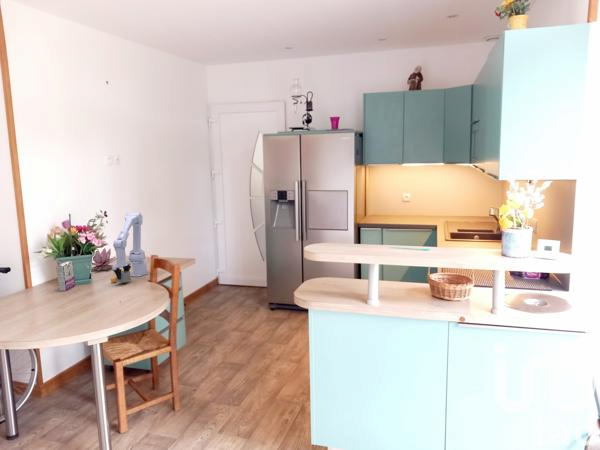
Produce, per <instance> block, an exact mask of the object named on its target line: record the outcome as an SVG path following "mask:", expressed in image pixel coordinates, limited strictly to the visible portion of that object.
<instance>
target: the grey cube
mask: <svg viewBox="0 0 600 450" xmlns="http://www.w3.org/2000/svg"><path fill="white" fill-rule="evenodd" d="M130 275H131V271H130V270H129V271H124V270H122V271H121V279H120V280H119V279H117V281H116V283H123V284H124V283H126V282H130V281H131V278H132V277H131V276H130ZM115 277H116V278H117V276H115Z"/></svg>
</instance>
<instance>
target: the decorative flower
mask: <svg viewBox="0 0 600 450" xmlns="http://www.w3.org/2000/svg"><path fill="white" fill-rule="evenodd" d="M95 251H96V250H95ZM111 253H112V251H111V248H109V249H108V251H107V250H106V248H105V247H104V248H103V249H102V251H101V252H99V250H98V251H96V252H94V257H93V260H92V261H93V262H92V265H91V266H93V267H92V268H91V271H93V270H95V269H96V272H97V271H98V272H101V271H102V270H103V271H105V270H109V268H110V269H112V267H113V266H114V265H113V264H112V263H114V262H115V261H117V259H116V255H115V256H113V257H111Z"/></svg>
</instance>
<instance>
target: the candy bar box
mask: <svg viewBox="0 0 600 450" xmlns="http://www.w3.org/2000/svg"><path fill="white" fill-rule="evenodd" d="M55 270H56V276H57V284H58V291H59V292H67V291H68V290H71V289H72V288H74V287H76V281H75V273H74V264H73V261H64V262H62V263H60V264H57V265H55Z"/></svg>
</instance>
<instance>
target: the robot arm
mask: <svg viewBox="0 0 600 450" xmlns="http://www.w3.org/2000/svg"><path fill="white" fill-rule="evenodd" d="M124 220H125V222H124V226H123V229H122V230H120V232H119V233H118V235H117V238H116V239H115V240H113V248H114V251H115V256H116V258H115V259H116V264H115V265H113V266H112V268H111V269H112V271H113V273H114V274H115V275H116V276H117V279H119V280H120V279H121V271H130V270H131V269H132V274H130V277H139V278H140V277H143V276H145V275H148V274H149V272H148V268H147V266H148V265H147V262H145V261H146V254H145V251H144V250H143V249H142V247H141V245H142V240H141V239H142V235H141V234H142V225H143V215H142V213H141V212H126V214H125V216H124ZM131 227H132V249H131V250H130V251H129V255H128V261H127V255H126V248H127V245H128V244H127V243H128V241H127V239H128V237H129V236H130V233H129V232H130V229H131ZM131 267H132V268H131ZM122 268H123V269H122ZM116 276H115V277H116Z"/></svg>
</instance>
